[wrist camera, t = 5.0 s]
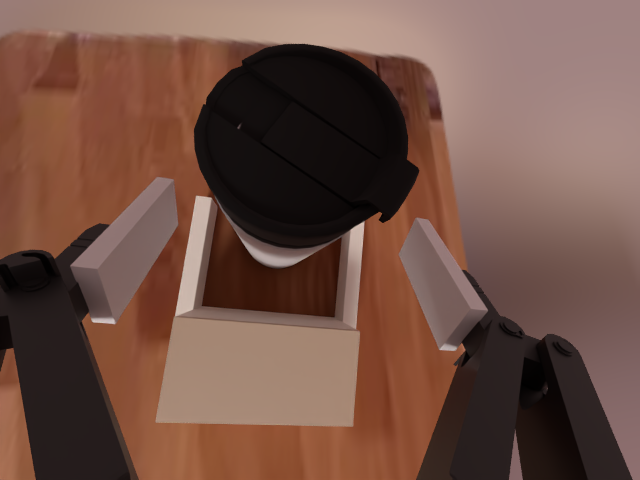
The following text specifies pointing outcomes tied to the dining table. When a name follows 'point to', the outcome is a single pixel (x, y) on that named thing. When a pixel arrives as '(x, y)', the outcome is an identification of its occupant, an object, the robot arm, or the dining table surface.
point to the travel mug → (302, 150)
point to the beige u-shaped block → (260, 350)
